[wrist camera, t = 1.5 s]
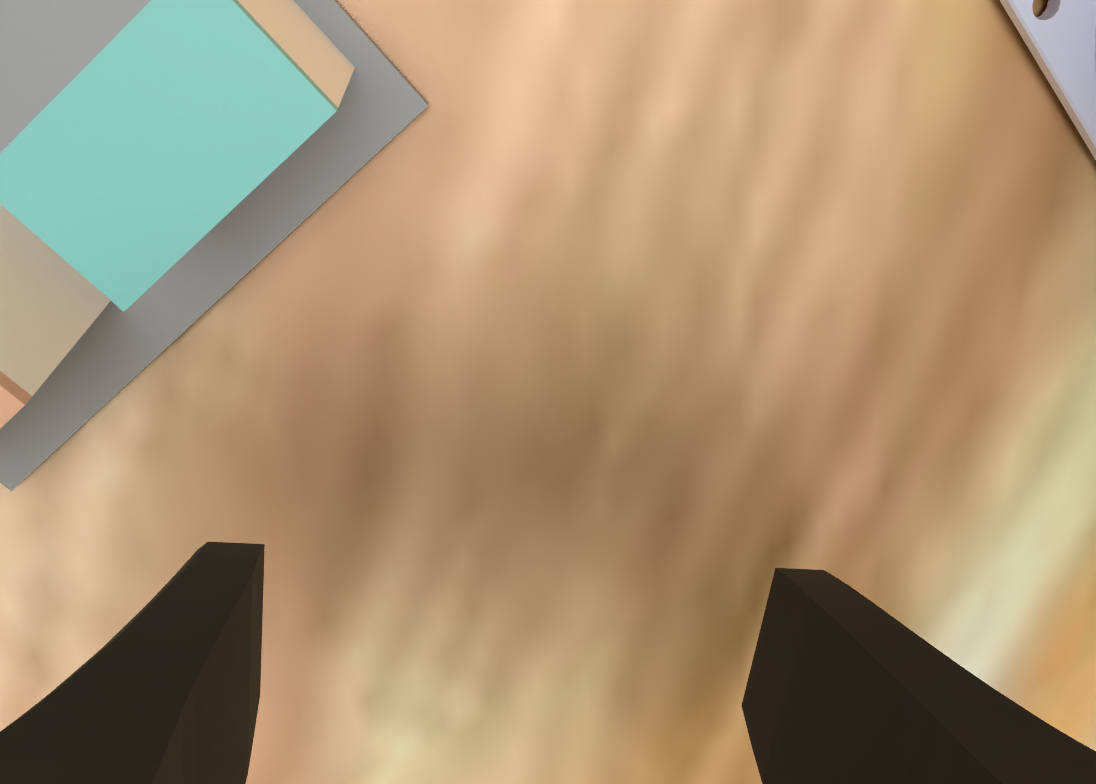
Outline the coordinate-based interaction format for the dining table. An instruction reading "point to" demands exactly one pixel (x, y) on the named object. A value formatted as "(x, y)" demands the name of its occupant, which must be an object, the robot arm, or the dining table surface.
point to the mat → (226, 250)
